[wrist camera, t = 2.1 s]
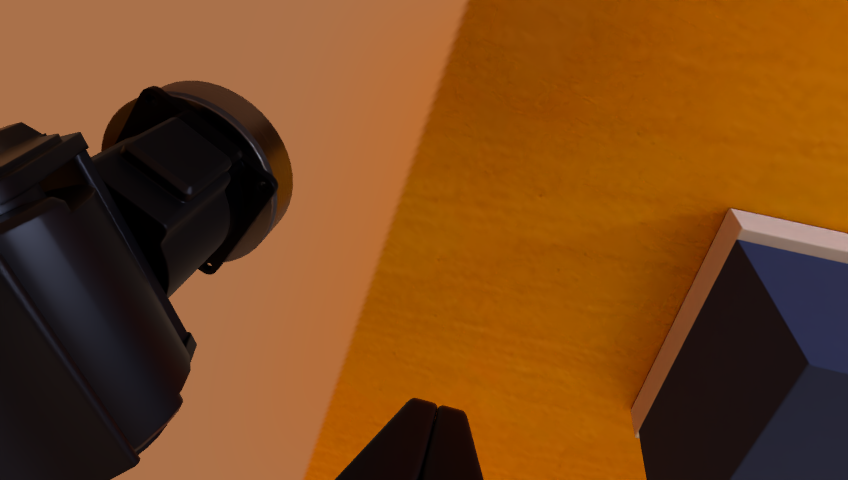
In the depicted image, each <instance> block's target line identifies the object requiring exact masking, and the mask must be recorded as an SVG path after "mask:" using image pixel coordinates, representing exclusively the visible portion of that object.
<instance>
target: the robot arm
mask: <svg viewBox="0 0 848 480" xmlns="http://www.w3.org/2000/svg"><path fill="white" fill-rule="evenodd" d="M151 95H153V96H154V97H155V98H156V99H157V104H156V103H155V102H154V101H153V100H152V97H151ZM86 149H88V145H87V143H86V141H85V140H84V138H83V136H82V134H81V132H77V133H73V134H69V135H65V136H61V137H60V136H59V134H53V135H48V136H47V135H46V133H45V134H41V133H39V132H38V131H36V130H34V129H33V128H31V127H29V126H27V125H26V124H24V123H22V122H21V123H16V124H13V125H9V126H6V127H3V128H1V129H0V480H110V479H112V478H114V477H116V476H118V475H120V474H122V473H124V472H125V471H127V470H129V469H131V468H133V467H135V466H136V465H137V464H138V463H139V461H140V457H139V456H138V455H139V454H140V453H141V452H142V451H144V450H145V449H146V448H147V447H148V446H149V445H150V444H151V443H152V442H153V441H154V440H155V439H156V438H157V437H158V436H159V435H160V434H161V432H162V431H163V430H164V428H165V427H166V426H167V424H168V422H169V421H170V420H171V419H172V418H173V417H174V415H175V414H176V413H177V412H178V411H179V409H180V407H181V405H182V403H183V399H182V397H181V395H180V394H179V393H180V391H181V390H182V388H183V386H184V384H185V381H186V379H187V377H188V375H189V372H190V362H191V360H192V357H193V354H194V351H195V348H196V346H197V344H196V342H195V340H194V338H193V336H192V335H191V333H190V332H186V330H185V328H184V326H183V324H182V323H181V321H180V319H179V317H178V315H177V314H176V312H175V310H174V308H173V306H172V304H171V303H170V301H169V299H168V298H169V297H170V296H171V295H172V294H173V293H174V292H175V291H176V290H177V289H178V288H179V287H180V286H181V285H182V284H183V283H184V282H185V281H186V280H187V279H188V278H189V277H190V276H191V275H192V274H193V273H194V272H195V271H196V270H197V269H199V270H200V271H202V272H203V273H205V274H208V275H211V274H214V273H215V272H216V271H217V270H218V269H219V268H220V267H221V266H222V264H223V263H224V262H225V260H226V259H227V257H228V256H229V255H230V253H231V252H232V251H233V249H234V248H235V247H236V245H237V244H238V243H239V241H240V240H241V239H242V237H243V236H244V235H245V233H246V232H247V231H248V229H249V228H250V226H251V225H252V224H253V222H254V221H255V220H256V218H257V217H258V216H259V214H260V213H261V212H262V210H263V209H264V208H265V206H266V205H267V204H268V202H269V201H270V200H271V198H272V197H273V195H274V194H275V193H276V191H277V189H278V182H277V180H276V178H275V177H274V176H273V175H271V174H270V173H269V172H268V171H266V170H265V169H264V168H262V167H261V166H260V165H259V164H257V163H256V162H255V161H254V160H252V159H251V158H250V157H248V156H247V155H246V154H245V153H243V152H242V151H241V149H240V148H239V147H238V146H237V145H235V144H234V143H233V142H231V141H230V140H229V139H228V138H226V137H225V136H224V135H223V134H221V133H220V132H219V131H217V130H216V129H215V128H214V127H212V126H211V125H210V124H209V123H207V122H206V121H205V120H203V119H202V118H201V117H200V116H198V115H197V114H196V113H194V112H193V111H190V110H188V109H187V108H186V107H185V106H183V105H182V104H181V103H179V102H178V101H177V100H176V99H174V98H173V97H172V96H171V95H169V94H168V93H167V92H165V91H164V90H163V89H161V88H160V87H158V86H151V87H148V88H146V89H143V91H142V92H141V93H140V95H139V97H138V99H137V101H136V103H135V105H134V107H133V109H132V111H131V113H130V115H129V117H128V119H127V121H126V123H125V125H124V127H123V129H122V131H121V133H120V135H119V137H118V139H117V141H116V143H115V145H113V146H112V147H110V148H108V149H106V150H104V151H102V152H100V153H98V154H97V155H95V156H93V157H91V158H90V156H89V154H88V152H87V150H86ZM261 182H264V183H266V184H267V185H268V186H269V189H266V188H264V187H263V186H262V183H261ZM206 261H207V262H209V263H210V264H211V265H209V264H208V263H207V262H206ZM436 413H437V414H436ZM435 417H436V418H435ZM434 421H435V422H434ZM433 425H434V426H433ZM335 480H483V476H482V472H481V468H480V465H479V461H478V457H477V453H476V449H475V445H474V442H473V438H472V434H471V430H470V426H469V422H468V419H467V416H466V414H465V412H464V411H462V410H459V409H455V408H451V407H448V406H443V405H442V406H440V407H439V408H438V410H437V405H436V404H435V403H433V402H429V401H425V400H422V399H418V398H412V399H410V400H409V401H408V402H407V403H406V404H405V405H404V406H403V407H402V408H401V409H400V410H399V411H398V413H397V414H396V415H395V416H394V417H393V418H392V419H391V420H390V421H389V422H388V423H387V424H386V425H385V426H384V428H383V429H382V430H381V431H380V432H379V433H378V434H377V435H376V436H375V437H374V438H373V439H372V440H371V441H370V442H369V444H368V445H367V446H366V447H365V448H364V449H363V450H362V451H361V452H360V453H359V454H358V455H357V456H356V457H355V459H354V460H353V461H352V462H351V463H350V464H349V465H348V466H347V467H346V468H345V469H344V470H343V471H342V472H341V474H340V475H339V476H338V477H337V478H336V479H335Z"/></svg>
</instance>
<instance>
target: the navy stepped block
mask: <svg viewBox="0 0 848 480" xmlns="http://www.w3.org/2000/svg"><path fill="white" fill-rule="evenodd" d="M631 415H632V421H633V427H634V433H635V437H636V438H640V443H641V449H642V455H643V460H644V466H645V472H646V478H647V480H848V234H847V233H842V232H838V231H833V230H828V229H824V228H819V227H814V226H810V225H805V224H801V223H796V222H791V221H787V220H782V219H778V218H773V217H768V216H764V215H759V214H755V213H750V212H745V211H741V210H736V209H731V208H730V209H729V210H728V212H727V214H726V216H725V218H724V220H723V222H722V224H721V226H720V228H719V230H718V233H717V235H716V237H715V239H714V241H713V243H712V245H711V247H710V249H709V251H708V253H707V255H706V257H705V259H704V261H703V263H702V265H701V267H700V269H699V272H698V274H697V276H696V278H695V280H694V282H693V284H692V286H691V288H690V290H689V292H688V294H687V296H686V298H685V300H684V302H683V304H682V306H681V308H680V311H679V313H678V315H677V317H676V319H675V321H674V323H673V325H672V327H671V329H670V331H669V333H668V335H667V337H666V339H665V341H664V343H663V345H662V347H661V350H660V352H659V354H658V356H657V358H656V360H655V362H654V364H653V366H652V368H651V370H650V372H649V374H648V376H647V378H646V380H645V382H644V384H643V386H642V389H641V391H640V393H639V395H638V397H637V399H636V401H635V403H634V405H633V407H632V409H631Z"/></svg>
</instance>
